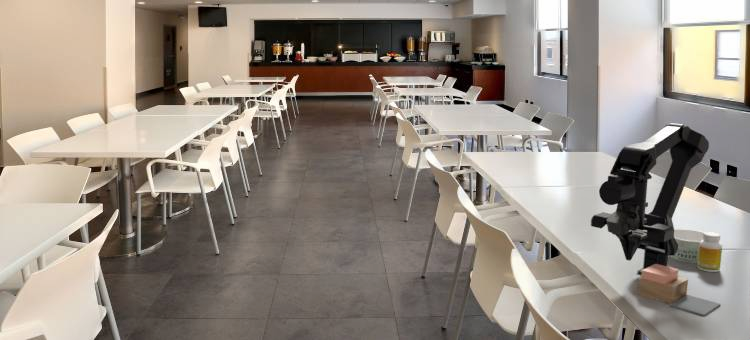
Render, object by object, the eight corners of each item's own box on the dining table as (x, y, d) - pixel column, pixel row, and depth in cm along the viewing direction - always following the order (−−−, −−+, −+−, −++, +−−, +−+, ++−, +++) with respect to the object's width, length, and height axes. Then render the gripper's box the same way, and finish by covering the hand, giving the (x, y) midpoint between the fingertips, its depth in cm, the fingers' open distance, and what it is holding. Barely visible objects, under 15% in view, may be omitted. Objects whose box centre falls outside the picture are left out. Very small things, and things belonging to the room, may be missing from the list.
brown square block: (653, 286, 161) (654, 270, 160) (686, 295, 155) (688, 279, 154) (638, 294, 155) (639, 278, 155) (671, 304, 150) (673, 287, 149)
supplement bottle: (720, 273, 169) (724, 237, 168) (698, 271, 171) (701, 235, 170) (718, 267, 174) (722, 232, 172) (696, 264, 176) (699, 230, 174)
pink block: (654, 271, 159) (655, 263, 159) (677, 277, 155) (678, 269, 155) (641, 278, 155) (642, 270, 154) (664, 284, 151) (665, 276, 150)
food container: (666, 261, 179) (668, 238, 178) (662, 248, 190) (664, 227, 189) (714, 266, 175) (717, 243, 174) (707, 253, 186) (709, 231, 185)
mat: (686, 296, 154) (687, 294, 154) (720, 305, 149) (720, 303, 149) (669, 306, 148) (670, 304, 148) (704, 316, 143) (704, 314, 143)
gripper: (580, 197, 159) (577, 258, 162) (655, 211, 145) (650, 277, 148) (604, 190, 166) (600, 248, 169) (677, 203, 153) (672, 266, 156)
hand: (628, 259), depth 161 cm, fingers closed
